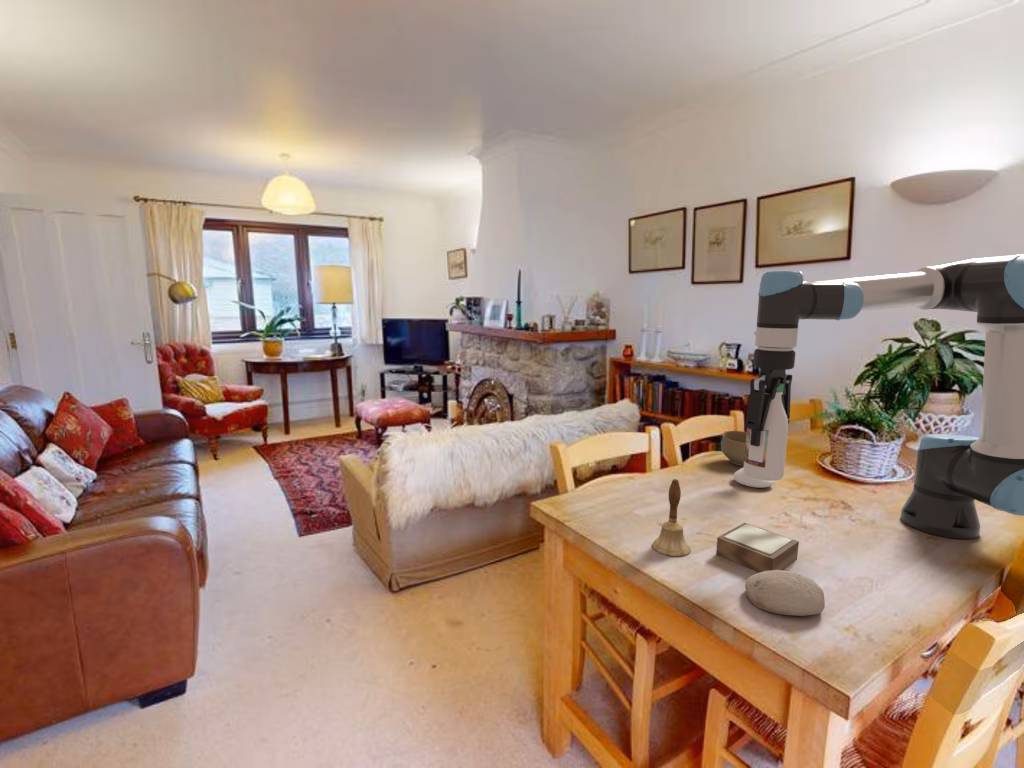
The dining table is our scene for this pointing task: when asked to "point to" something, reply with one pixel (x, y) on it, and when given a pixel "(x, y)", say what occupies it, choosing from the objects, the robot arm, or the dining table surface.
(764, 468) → the milk bottle
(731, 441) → the bowl
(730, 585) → the dining table surface
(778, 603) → the stone
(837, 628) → the dining table surface
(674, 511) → the hand bell
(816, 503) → the dining table surface
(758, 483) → the flower in vase
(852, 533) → the dining table surface
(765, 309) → the robot arm
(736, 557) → the plinth
